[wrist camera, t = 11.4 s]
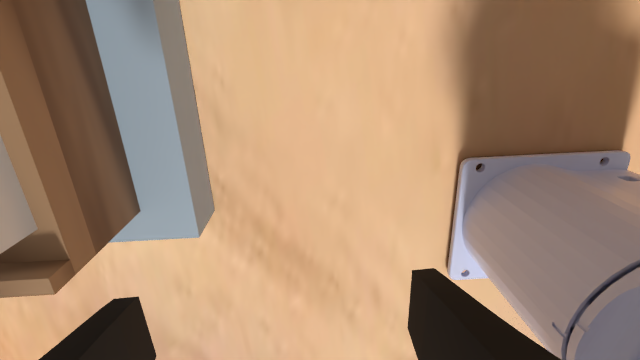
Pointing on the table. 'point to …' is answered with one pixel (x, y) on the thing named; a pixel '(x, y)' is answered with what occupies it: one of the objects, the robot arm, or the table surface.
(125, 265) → the table surface
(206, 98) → the table surface
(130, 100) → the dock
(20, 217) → the crate
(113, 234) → the tan open box
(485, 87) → the table surface
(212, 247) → the table surface
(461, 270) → the robot arm
